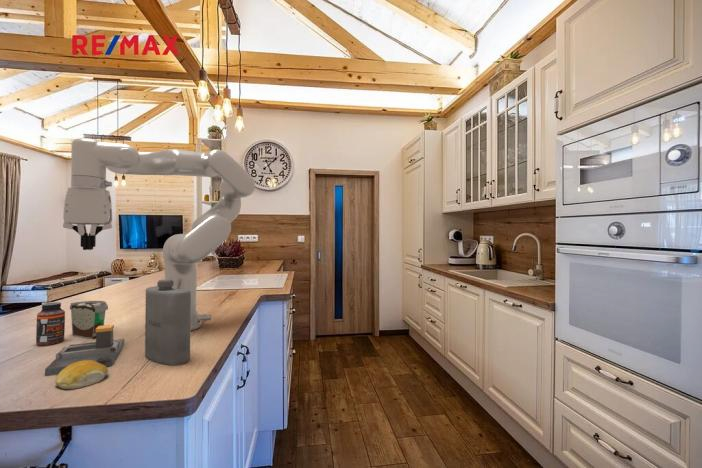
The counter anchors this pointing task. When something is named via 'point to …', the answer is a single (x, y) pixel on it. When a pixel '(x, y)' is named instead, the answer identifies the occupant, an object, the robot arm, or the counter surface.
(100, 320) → the food container
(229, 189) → the robot arm
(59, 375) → the bread roll
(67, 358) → the panel
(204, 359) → the counter surface
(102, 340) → the lever
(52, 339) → the supplement bottle
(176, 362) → the flask
